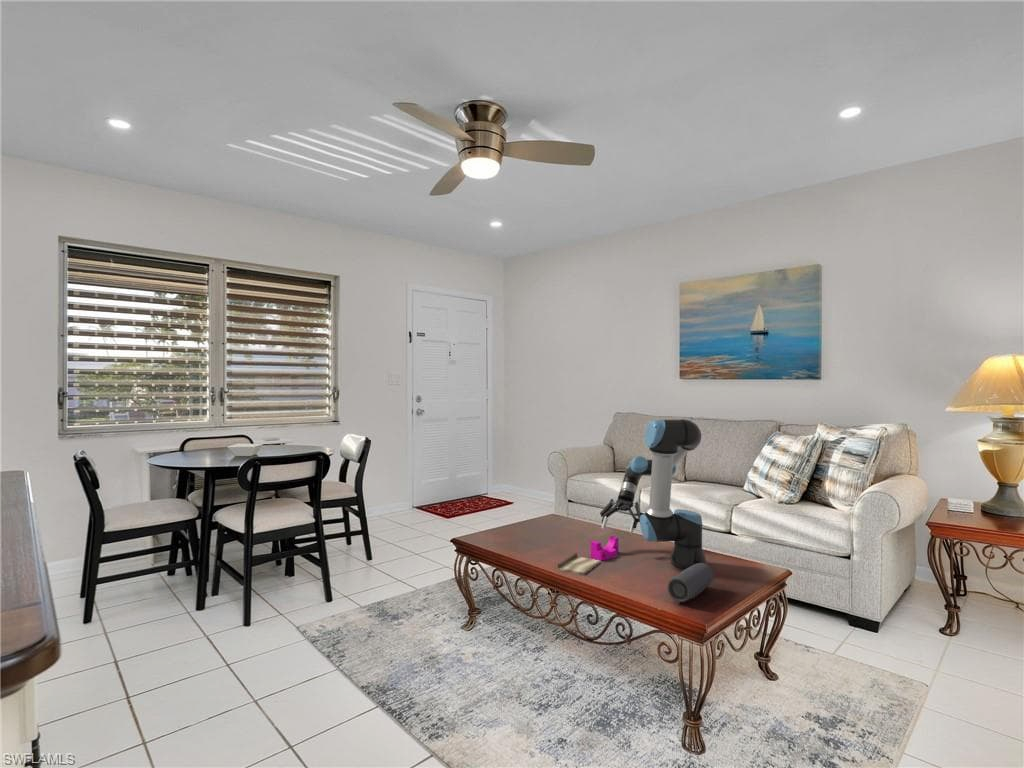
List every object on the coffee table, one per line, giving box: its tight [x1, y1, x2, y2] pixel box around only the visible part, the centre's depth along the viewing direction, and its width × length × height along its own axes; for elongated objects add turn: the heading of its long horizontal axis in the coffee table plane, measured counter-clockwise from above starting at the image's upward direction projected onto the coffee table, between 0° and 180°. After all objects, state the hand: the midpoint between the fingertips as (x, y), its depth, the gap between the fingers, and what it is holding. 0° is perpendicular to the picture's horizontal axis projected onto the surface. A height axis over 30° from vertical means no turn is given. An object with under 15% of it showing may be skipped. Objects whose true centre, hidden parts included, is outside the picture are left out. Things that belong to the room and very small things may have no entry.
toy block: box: [590, 535, 619, 562], centre depth 248 cm, size 15×6×8 cm, turn 129°
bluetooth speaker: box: [667, 563, 715, 603], centre depth 202 cm, size 23×9×10 cm, turn 139°
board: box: [557, 552, 601, 576], centre depth 235 cm, size 12×18×2 cm, turn 149°
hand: (616, 531), depth 252 cm, fingers open, 13 cm apart
